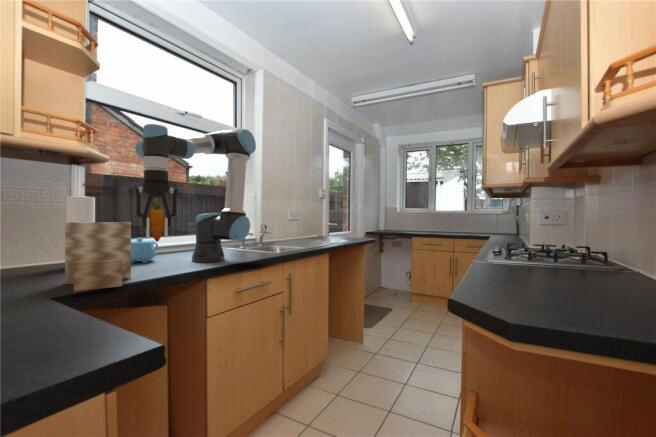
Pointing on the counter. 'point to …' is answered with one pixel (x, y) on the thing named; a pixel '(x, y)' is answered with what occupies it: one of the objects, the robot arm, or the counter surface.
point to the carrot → (156, 220)
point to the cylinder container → (80, 209)
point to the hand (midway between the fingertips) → (157, 236)
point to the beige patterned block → (97, 254)
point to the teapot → (142, 250)
